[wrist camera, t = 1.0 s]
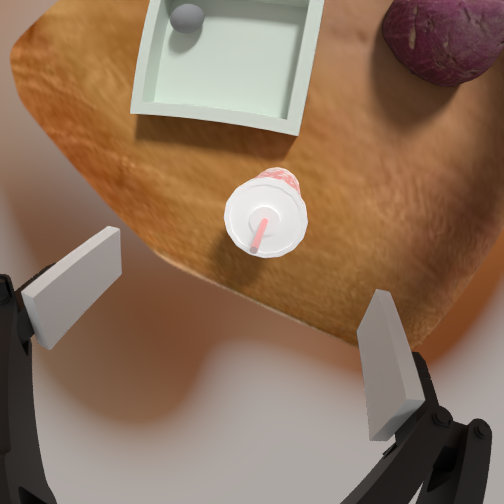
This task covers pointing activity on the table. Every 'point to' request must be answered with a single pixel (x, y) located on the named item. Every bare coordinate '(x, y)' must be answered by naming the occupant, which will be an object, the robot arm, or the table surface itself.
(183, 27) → the ball
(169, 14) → the tray
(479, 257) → the table surface
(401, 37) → the vegetable
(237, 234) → the beverage cup
